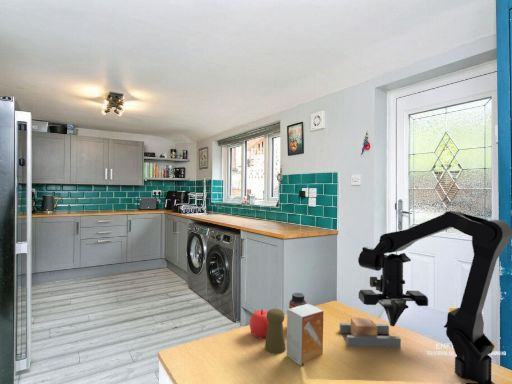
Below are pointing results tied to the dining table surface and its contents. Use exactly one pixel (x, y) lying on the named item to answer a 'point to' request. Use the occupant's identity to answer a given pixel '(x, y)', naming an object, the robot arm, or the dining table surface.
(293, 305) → the supplement bottle
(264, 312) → the apple
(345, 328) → the chute
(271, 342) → the olive pepper mill
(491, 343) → the robot arm
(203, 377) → the dining table surface
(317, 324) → the small box
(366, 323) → the block
